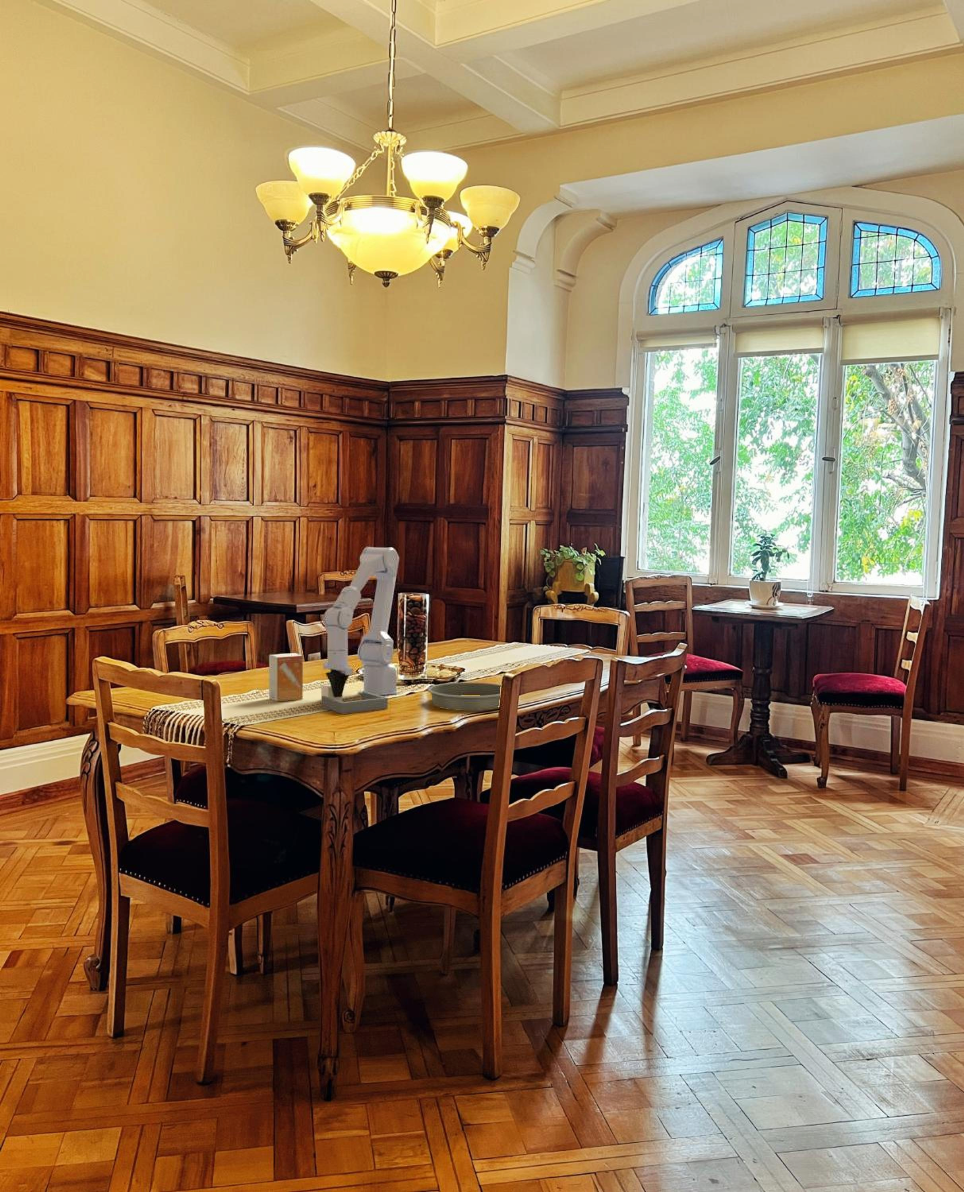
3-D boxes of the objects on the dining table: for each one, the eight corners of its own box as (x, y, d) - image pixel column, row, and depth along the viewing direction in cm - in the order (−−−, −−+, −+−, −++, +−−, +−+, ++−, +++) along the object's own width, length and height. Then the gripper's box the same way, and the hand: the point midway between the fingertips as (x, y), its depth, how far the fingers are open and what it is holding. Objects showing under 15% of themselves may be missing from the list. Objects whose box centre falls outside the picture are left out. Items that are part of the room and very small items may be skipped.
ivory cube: (335, 698, 295) (335, 683, 295) (342, 700, 292) (342, 685, 291) (321, 700, 293) (321, 684, 293) (328, 702, 289) (328, 686, 289)
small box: (277, 702, 289) (276, 657, 288) (268, 698, 294) (268, 654, 293) (303, 699, 294) (303, 655, 293) (294, 696, 299) (294, 652, 298)
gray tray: (365, 701, 291) (365, 691, 291) (387, 708, 281) (387, 697, 280) (321, 706, 283) (321, 696, 282) (343, 714, 272) (342, 703, 272)
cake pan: (530, 704, 290) (530, 689, 289) (467, 716, 273) (467, 699, 272) (472, 693, 307) (472, 678, 307) (409, 703, 291) (410, 687, 290)
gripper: (313, 647, 292) (313, 694, 293) (337, 653, 280) (337, 702, 281) (335, 646, 296) (335, 692, 297) (359, 651, 284) (359, 699, 285)
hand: (337, 696), depth 289 cm, fingers closed
